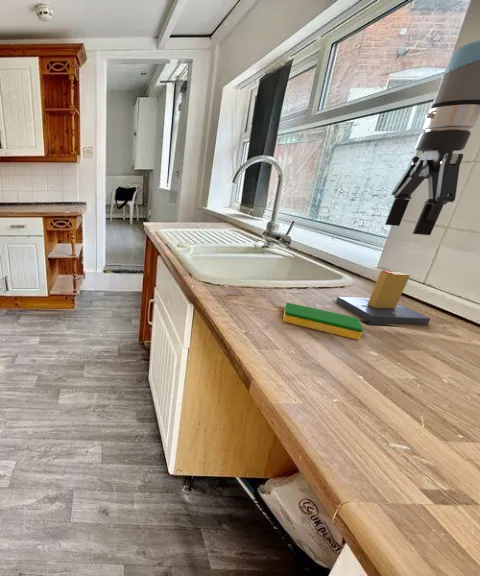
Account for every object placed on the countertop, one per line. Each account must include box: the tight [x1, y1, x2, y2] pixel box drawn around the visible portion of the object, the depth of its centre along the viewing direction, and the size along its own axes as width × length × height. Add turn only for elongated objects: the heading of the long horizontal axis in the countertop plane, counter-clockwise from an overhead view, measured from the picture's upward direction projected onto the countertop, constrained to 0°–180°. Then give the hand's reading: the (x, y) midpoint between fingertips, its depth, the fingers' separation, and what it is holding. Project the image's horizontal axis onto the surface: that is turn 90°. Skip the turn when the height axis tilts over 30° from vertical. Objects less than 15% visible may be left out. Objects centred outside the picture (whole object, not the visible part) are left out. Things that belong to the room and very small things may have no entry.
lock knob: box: [368, 270, 410, 309], centre depth 72 cm, size 5×2×9 cm, turn 88°
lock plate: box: [335, 296, 431, 328], centre depth 74 cm, size 13×11×3 cm
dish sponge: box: [282, 302, 364, 340], centre depth 68 cm, size 7×14×2 cm, turn 58°
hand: (405, 229), depth 73 cm, fingers open, 13 cm apart
